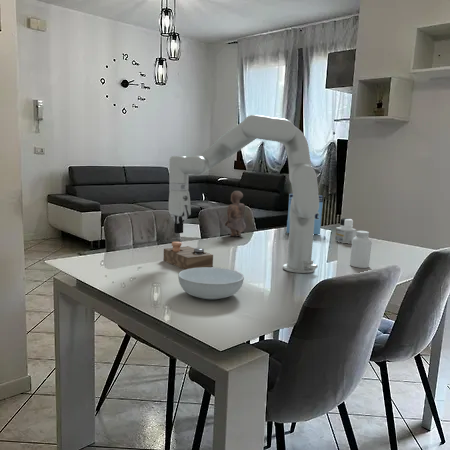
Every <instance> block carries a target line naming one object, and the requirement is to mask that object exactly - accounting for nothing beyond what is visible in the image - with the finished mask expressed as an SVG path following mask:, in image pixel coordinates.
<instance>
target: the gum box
mask: <svg viewBox="0 0 450 450" xmlns="http://www.w3.org/2000/svg"><path fill="white" fill-rule="evenodd" d="M292 197H293V193H289V196H288V210H287V220H286V233H287V234H289V230H290V205H291V200H292ZM323 202H324V196H323V195H319V209H318V212H317V213H316V214H315V215H314V232H313V234H320V235H321V224H322V214H323V213H322V212H323V204H324V203H323Z"/></svg>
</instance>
